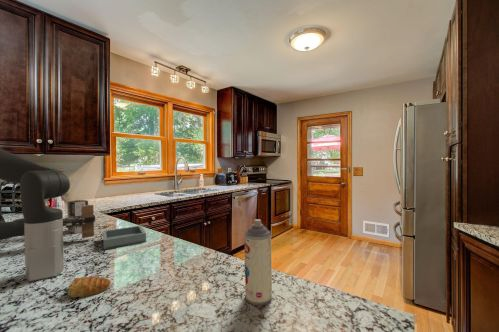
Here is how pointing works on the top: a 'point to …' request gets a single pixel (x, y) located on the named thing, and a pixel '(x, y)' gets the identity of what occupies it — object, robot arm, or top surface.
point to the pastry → (88, 286)
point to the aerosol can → (258, 264)
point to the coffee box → (75, 213)
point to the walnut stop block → (87, 227)
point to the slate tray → (123, 237)
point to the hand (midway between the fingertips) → (94, 218)
